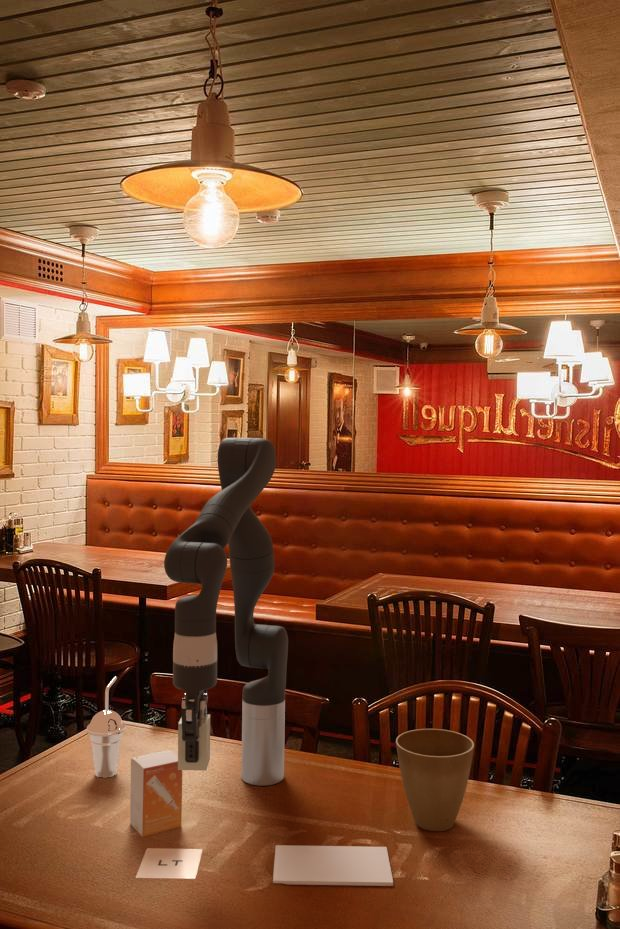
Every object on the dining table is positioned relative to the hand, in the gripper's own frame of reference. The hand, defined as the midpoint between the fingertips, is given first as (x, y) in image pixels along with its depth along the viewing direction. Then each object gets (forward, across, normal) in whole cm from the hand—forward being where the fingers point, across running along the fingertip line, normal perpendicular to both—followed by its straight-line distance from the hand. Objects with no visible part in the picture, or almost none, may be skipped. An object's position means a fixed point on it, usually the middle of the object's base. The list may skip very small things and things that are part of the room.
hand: (194, 755), depth 146 cm
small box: (+19, +14, +9) cm, 25 cm away
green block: (+2, 0, 0) cm, 2 cm away
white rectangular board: (+19, 0, -24) cm, 31 cm away
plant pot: (+20, +17, -44) cm, 51 cm away
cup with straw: (+20, +37, +25) cm, 49 cm away
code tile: (+19, 0, +4) cm, 20 cm away
